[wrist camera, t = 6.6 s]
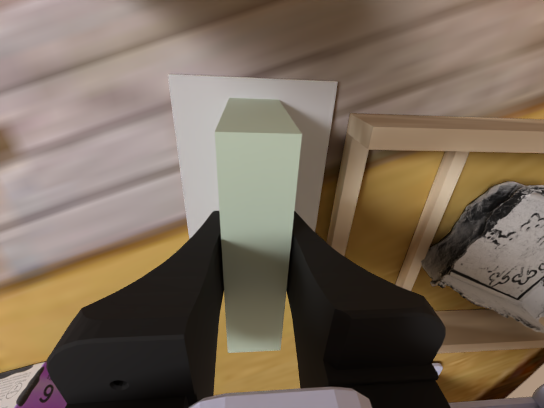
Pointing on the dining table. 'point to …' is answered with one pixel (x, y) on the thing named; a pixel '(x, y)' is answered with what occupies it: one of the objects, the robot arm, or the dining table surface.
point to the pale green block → (256, 217)
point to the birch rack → (436, 203)
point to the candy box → (29, 388)
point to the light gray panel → (206, 115)
